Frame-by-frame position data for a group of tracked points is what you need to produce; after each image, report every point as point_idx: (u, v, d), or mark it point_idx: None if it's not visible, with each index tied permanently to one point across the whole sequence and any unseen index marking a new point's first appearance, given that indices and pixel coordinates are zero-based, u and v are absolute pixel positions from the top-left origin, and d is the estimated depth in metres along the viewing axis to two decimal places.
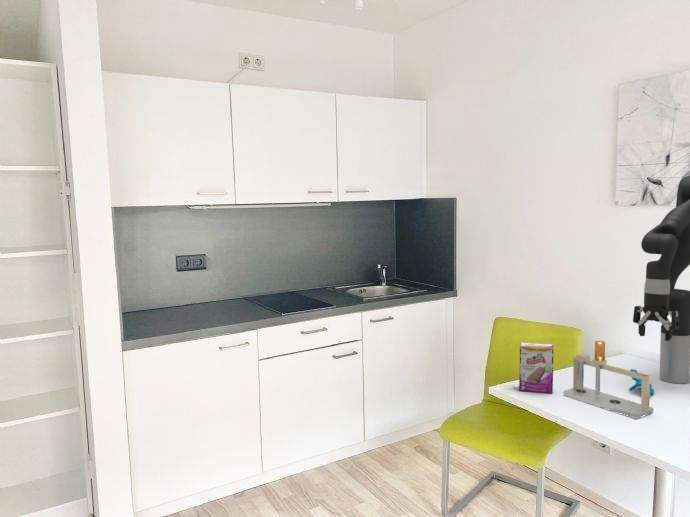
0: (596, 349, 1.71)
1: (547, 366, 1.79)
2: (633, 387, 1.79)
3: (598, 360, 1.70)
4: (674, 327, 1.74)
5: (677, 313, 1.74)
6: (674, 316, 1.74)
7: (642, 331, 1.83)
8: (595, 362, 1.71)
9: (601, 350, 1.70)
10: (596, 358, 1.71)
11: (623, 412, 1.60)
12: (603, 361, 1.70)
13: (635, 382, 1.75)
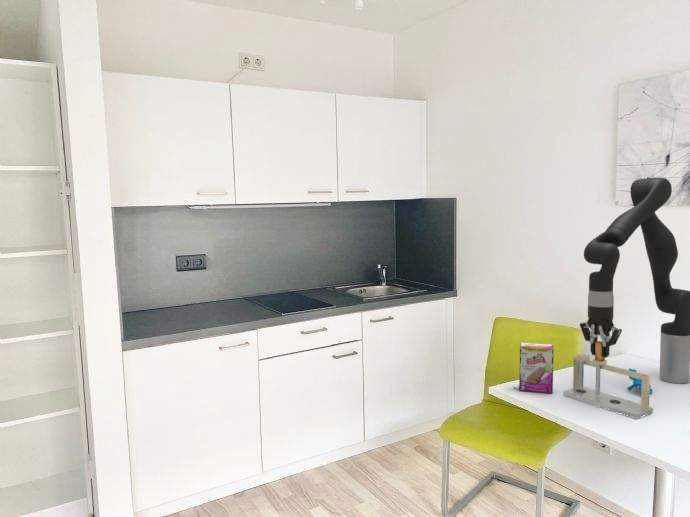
0: (596, 349, 1.71)
1: (547, 366, 1.79)
2: (631, 386, 1.80)
3: (598, 360, 1.70)
4: (610, 343, 1.66)
5: (619, 332, 1.65)
6: (615, 334, 1.65)
7: (594, 350, 1.72)
8: (595, 362, 1.71)
9: (601, 350, 1.70)
10: (596, 358, 1.71)
11: (623, 412, 1.60)
12: (603, 361, 1.70)
13: None
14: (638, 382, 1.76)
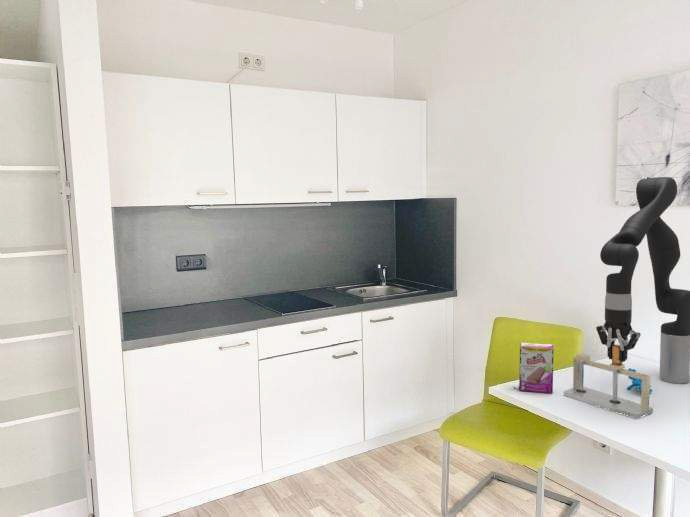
0: (613, 353, 1.66)
1: (547, 366, 1.79)
2: (631, 386, 1.80)
3: (616, 364, 1.65)
4: (628, 347, 1.61)
5: (638, 336, 1.60)
6: (633, 338, 1.60)
7: (611, 354, 1.67)
8: (612, 366, 1.66)
9: (619, 355, 1.65)
10: (613, 362, 1.66)
11: (623, 412, 1.60)
12: (621, 365, 1.65)
13: None
14: (637, 382, 1.77)
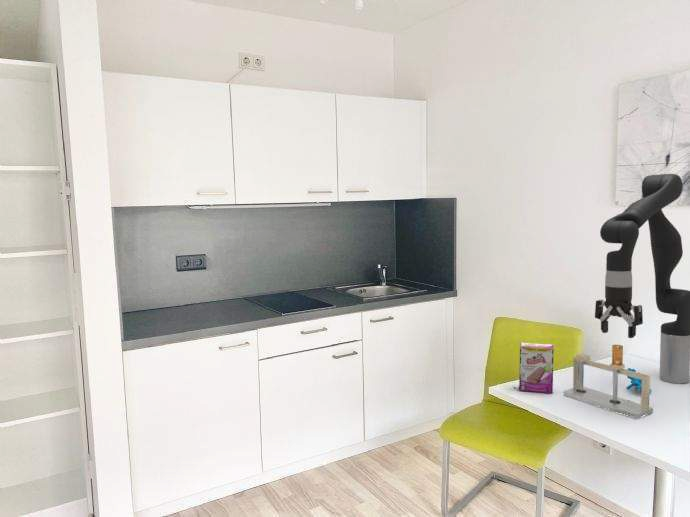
0: (614, 353, 1.65)
1: (547, 366, 1.79)
2: (630, 386, 1.80)
3: (616, 364, 1.65)
4: (637, 323, 1.58)
5: (640, 307, 1.59)
6: (637, 311, 1.58)
7: (605, 327, 1.68)
8: (612, 366, 1.66)
9: (619, 355, 1.65)
10: (614, 362, 1.66)
11: (623, 412, 1.60)
12: (621, 365, 1.65)
13: (630, 381, 1.77)
14: (636, 382, 1.77)
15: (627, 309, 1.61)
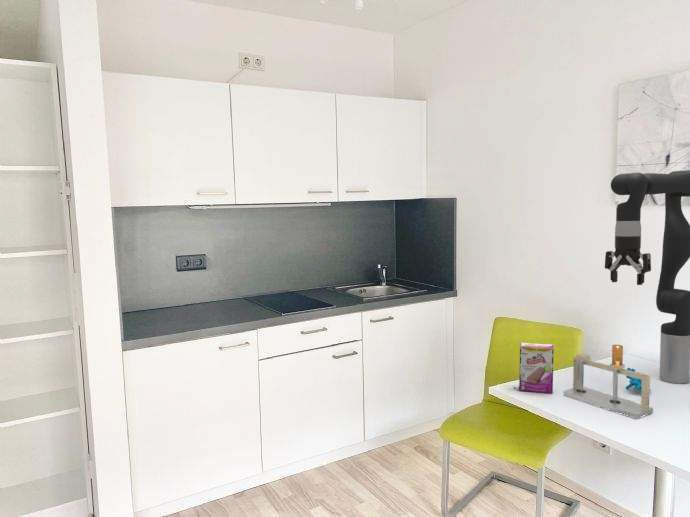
0: (614, 353, 1.65)
1: (547, 366, 1.79)
2: (629, 386, 1.81)
3: (616, 364, 1.65)
4: (646, 270, 1.66)
5: (648, 255, 1.66)
6: (645, 258, 1.66)
7: (614, 277, 1.76)
8: (612, 366, 1.66)
9: (619, 355, 1.65)
10: (614, 362, 1.66)
11: (623, 412, 1.60)
12: (621, 365, 1.65)
13: None
14: (635, 381, 1.77)
15: (636, 257, 1.69)
